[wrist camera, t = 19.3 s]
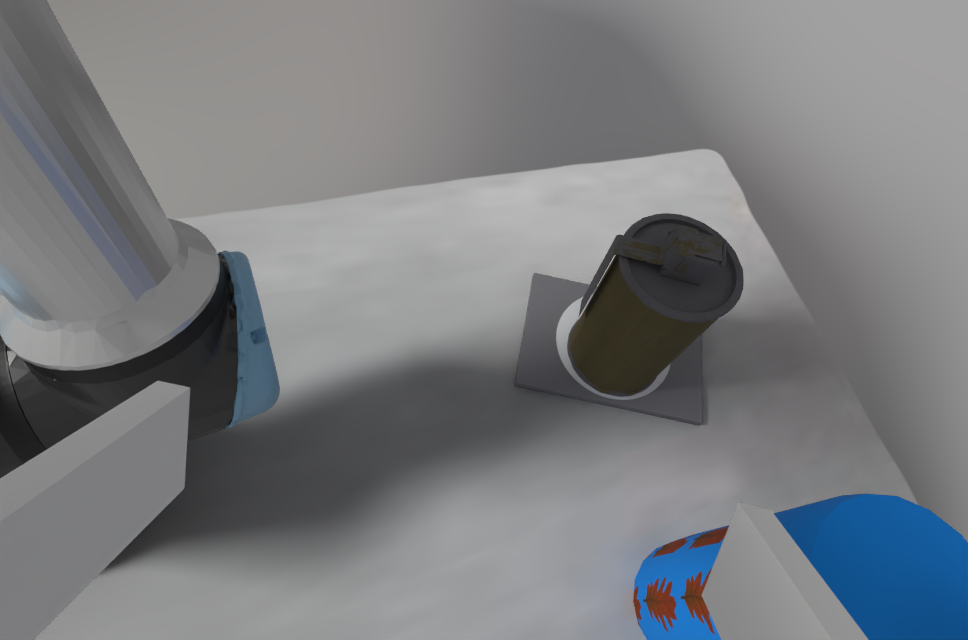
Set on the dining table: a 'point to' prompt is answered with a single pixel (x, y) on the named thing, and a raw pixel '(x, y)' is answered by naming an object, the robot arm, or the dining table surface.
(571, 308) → the circle mat
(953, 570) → the thermos
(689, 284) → the canister
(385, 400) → the dining table surface
